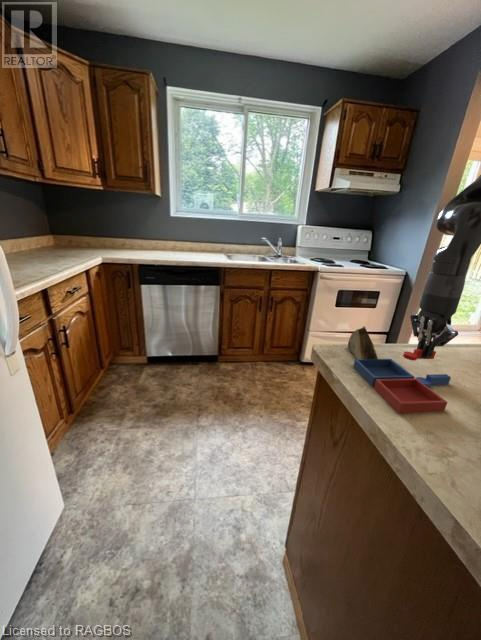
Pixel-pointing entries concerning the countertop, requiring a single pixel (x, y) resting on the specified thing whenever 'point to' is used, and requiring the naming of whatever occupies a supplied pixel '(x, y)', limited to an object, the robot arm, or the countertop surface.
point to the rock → (361, 345)
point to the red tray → (409, 395)
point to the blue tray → (380, 370)
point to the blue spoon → (435, 379)
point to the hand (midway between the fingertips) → (422, 356)
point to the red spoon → (416, 354)
